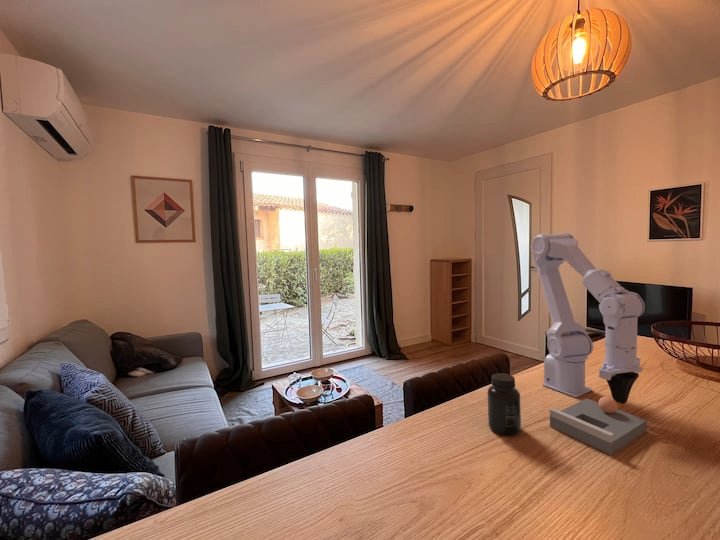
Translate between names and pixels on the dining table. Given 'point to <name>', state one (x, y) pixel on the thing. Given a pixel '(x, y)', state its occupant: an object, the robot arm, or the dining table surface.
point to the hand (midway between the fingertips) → (619, 401)
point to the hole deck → (598, 425)
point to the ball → (608, 404)
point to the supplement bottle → (504, 405)
